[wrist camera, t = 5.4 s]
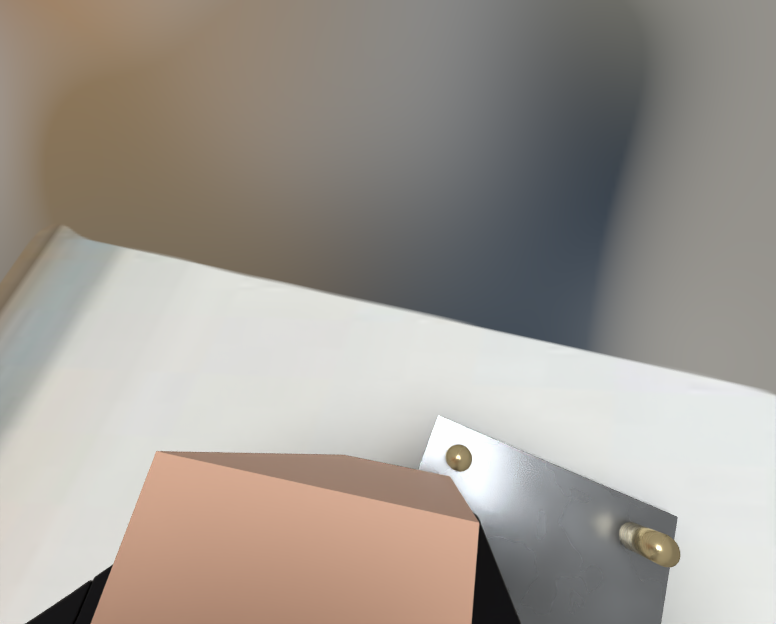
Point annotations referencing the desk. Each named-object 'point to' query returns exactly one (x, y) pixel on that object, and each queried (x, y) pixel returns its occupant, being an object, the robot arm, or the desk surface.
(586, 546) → the standoff chassis
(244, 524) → the terracotta block
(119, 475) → the desk surface
